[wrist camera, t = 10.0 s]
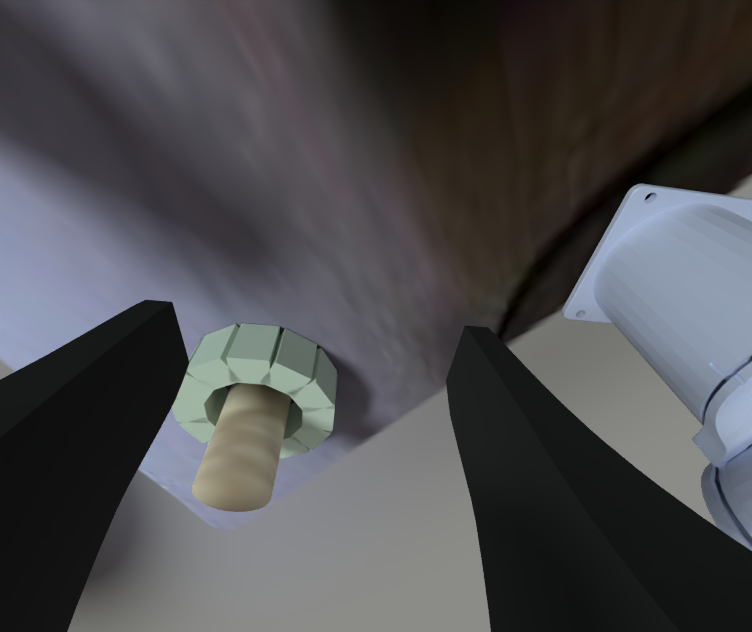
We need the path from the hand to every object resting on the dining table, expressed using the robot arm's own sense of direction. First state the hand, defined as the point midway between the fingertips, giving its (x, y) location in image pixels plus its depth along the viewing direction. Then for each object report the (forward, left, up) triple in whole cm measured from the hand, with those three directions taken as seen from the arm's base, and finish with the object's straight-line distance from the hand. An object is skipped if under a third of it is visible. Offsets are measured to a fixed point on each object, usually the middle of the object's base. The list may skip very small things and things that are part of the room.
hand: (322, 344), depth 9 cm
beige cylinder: (+5, +13, -10) cm, 17 cm away
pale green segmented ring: (+5, +13, -10) cm, 17 cm away
